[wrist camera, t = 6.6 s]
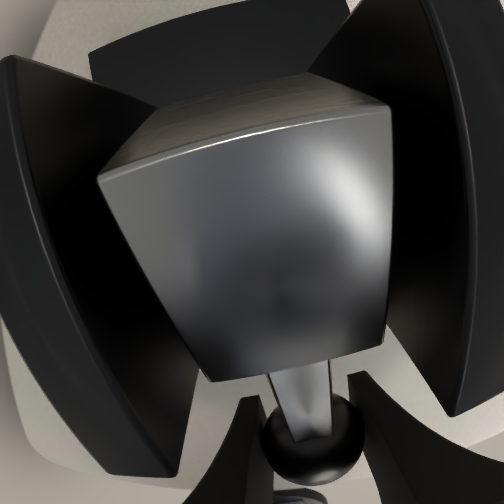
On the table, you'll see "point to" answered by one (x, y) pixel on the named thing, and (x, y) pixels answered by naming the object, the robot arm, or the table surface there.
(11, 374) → the table surface
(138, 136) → the lever
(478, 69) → the bracket
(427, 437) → the robot arm
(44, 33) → the table surface
